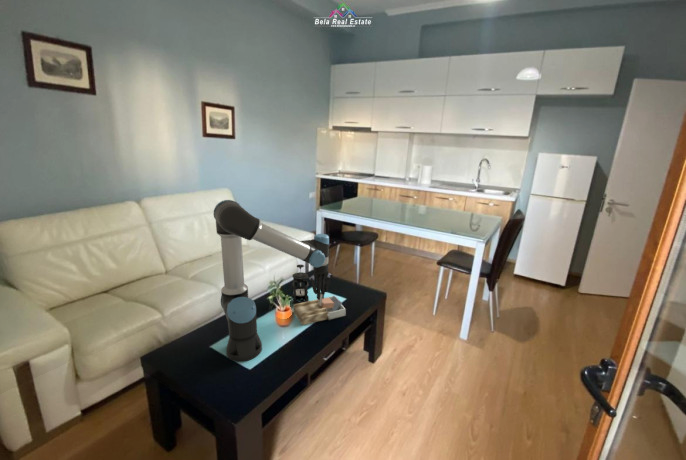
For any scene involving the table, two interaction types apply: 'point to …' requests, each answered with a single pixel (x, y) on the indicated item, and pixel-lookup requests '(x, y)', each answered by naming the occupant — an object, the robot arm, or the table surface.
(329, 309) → the tray
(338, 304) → the slate tile
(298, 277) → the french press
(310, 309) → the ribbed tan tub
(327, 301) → the terracotta tile
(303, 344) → the table surface
